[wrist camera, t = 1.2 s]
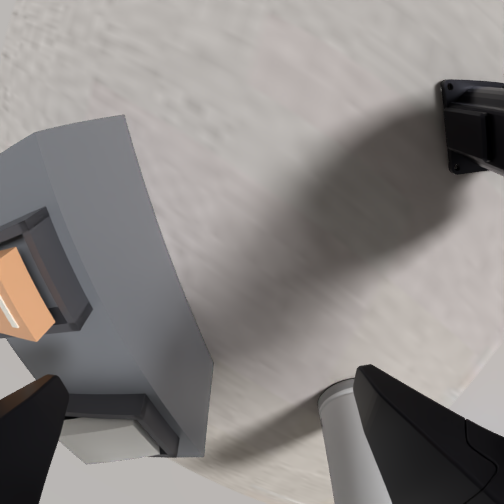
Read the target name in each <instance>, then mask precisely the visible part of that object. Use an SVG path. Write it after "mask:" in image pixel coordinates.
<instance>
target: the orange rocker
mask: <svg viewBox="0 0 504 504" xmlns="http://www.w3.org/2000/svg"><path fill="white" fill-rule="evenodd" d="M54 323H55V320H54V319H53V317H52V315H51V314H50V312H49V310H48V308H47V307H46V305H45V303H44V301H43V300H42V298H41V296H40V294H39V292H38V290H37V288H36V287H35V285H34V283H33V281H32V279H31V277H30V275H29V273H28V271H27V269H26V267H25V265H24V263H23V261H22V258H21V256H20V254H19V252H18V250H17V248H16V247H13V248H9V249H5V250H1V251H0V333H3V334H6V335H10V336H14V337H18V338H22V339H26V340H30V341H34V342H38V340H39V339H40V338H41V337H42V336H43V335H44V334H45V333H46V332H47V331H48V329H49V328H50V327H51V326H52V325H53V324H54Z"/></svg>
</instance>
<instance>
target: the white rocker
mask: <svg viewBox="0 0 504 504" xmlns="http://www.w3.org/2000/svg"><path fill="white" fill-rule="evenodd" d="M59 441H60V442H61V443H62V444H63V445H64V446H65V447H66V448H67V449H69V450H70V451H71V452H72V453H73V454H74V455H75V456H77V457H78V458H79V459H80V460H81V461H83V462H84V463H85V464H96V463H106V462H114V461H122V460H128V459H136V458H142V457H148V456H153V455H159V454H160V449H159V445H158V444H157V443H156V441H155V440H154V439H153V438H152V437H151V436H150V435H149V434H148V433H147V431H146V430H145V429H144V428H143V427H142V426H141V424H140V423H139V422H138V421H137V420H126V419H100V418H85V417H81V418H75V419H69V420H64V423H63V427H62V431H61V434H60V438H59Z"/></svg>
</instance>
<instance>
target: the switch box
mask: <svg viewBox="0 0 504 504" xmlns="http://www.w3.org/2000/svg"><path fill="white" fill-rule="evenodd" d="M13 247H16V248H17V250H18V252H19V254H20V256H21V258H22V261H23V263H24V265H25V267H26V269H27V271H28V273H29V275H30V277H31V279H32V281H33V283H34V285H35V287H36V288H37V290H38V292H39V294H40V296H41V298H42V300H43V301H44V303H45V305H46V307H47V308H48V310H49V312H50V314H51V315H52V317H53V319H54V320H55V323H54V324H53V325H52V326H51V327H50V328H49V329H48V331H47V332H46V333H45V334H44V335H43V336H42V337H41V338H40V339H39V340H38V342H34V341H30V340H26V339H22V338H18V337H14V336H10V335H6V334H3V333H0V338H6V339H7V341H8V342H9V344H10V345H11V347H12V348H13V350H14V351H15V352H16V354H17V355H18V357H19V358H20V359H21V361H22V362H23V363H24V365H25V366H26V367H27V369H28V370H29V371H30V373H31V374H32V375H33V377H34V378H35V379H36V380H37V379H39V378H41V377H43V376H45V375H47V374H52V375H57V376H59V377H60V379H61V380H62V382H63V384H64V385H65V387H66V389H67V390H68V392H69V403H68V407H67V411H66V415H65V419H64V420H69V419H75V418H81V417H85V418H100V419H126V420H137V421H138V422H139V423H140V424H141V426H142V427H143V428H144V429H145V430H146V431H147V433H148V434H149V435H150V436H151V437H152V438H153V439H154V440H155V441H156V443H157V444H158V445H159V449H160V454H159V455H153V456H148V457H172V458H177V457H204V453H205V442H206V431H207V421H208V411H209V401H210V392H211V382H212V373H213V364H214V363H213V361H212V359H211V356H210V354H209V352H208V350H207V347H206V345H205V343H204V340H203V338H202V336H201V333H200V331H199V329H198V326H197V324H196V321H195V319H194V317H193V314H192V312H191V309H190V307H189V304H188V302H187V300H186V297H185V295H184V292H183V289H182V287H181V284H180V282H179V279H178V277H177V274H176V271H175V269H174V266H173V263H172V261H171V258H170V255H169V253H168V250H167V247H166V245H165V242H164V239H163V236H162V233H161V231H160V228H159V225H158V222H157V219H156V216H155V213H154V210H153V207H152V204H151V201H150V198H149V195H148V192H147V189H146V186H145V183H144V180H143V177H142V174H141V170H140V167H139V164H138V161H137V157H136V154H135V151H134V147H133V144H132V140H131V137H130V133H129V130H128V126H127V123H126V119H125V115H119V116H112V117H106V118H100V119H94V120H89V121H83V122H78V123H73V124H68V125H64V126H59V127H54V128H50V129H46V130H42V131H38V132H35V133H33V134H31V135H29V136H28V137H26V138H24V139H23V140H21V141H19V142H18V143H16V144H15V145H13V146H11V147H10V148H8V149H7V150H5V151H4V152H2V153H0V251H1V250H5V249H9V248H13Z"/></svg>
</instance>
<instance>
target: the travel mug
mask: <svg viewBox="0 0 504 504" xmlns="http://www.w3.org/2000/svg"><path fill="white" fill-rule="evenodd" d="M353 383H354V379H349V380H345V381H342V382H339V383H337V384H335V385H333V386H331V387H330V388H328V389H327V390H326V391H325V392H324V393H323V394H322V395H321V396H320V398H319V400H318V410H319V415H320V421H321V426H322V431H323V437H324V443H325V448H326V454H327V460H328V465H329V471H330V477H331V483H332V489H333V496H334V502H335V504H392V502H391V499H390V497H389V494H388V491H387V489H386V486H385V484H384V481H383V479H382V476H381V474H380V471H379V469H378V466H377V464H376V461H375V459H374V456H373V454H372V451H371V449H370V446H369V444H368V441H367V439H366V436H365V434H364V431H363V427H362V423H361V419H360V416H359V412H358V408H357V404H356V401H355V397H354V393H353Z"/></svg>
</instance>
